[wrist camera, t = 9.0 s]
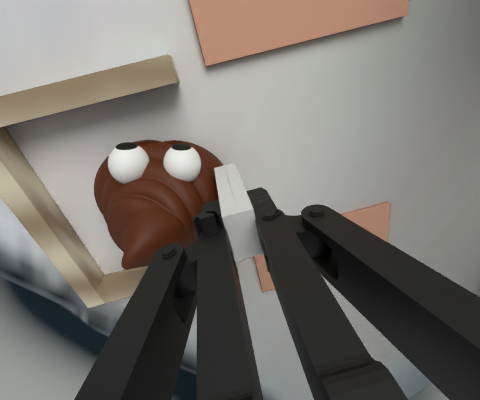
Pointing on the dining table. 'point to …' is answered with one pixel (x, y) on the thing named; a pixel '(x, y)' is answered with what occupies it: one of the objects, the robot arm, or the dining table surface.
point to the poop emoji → (154, 195)
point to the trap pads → (283, 34)
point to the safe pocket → (36, 195)
